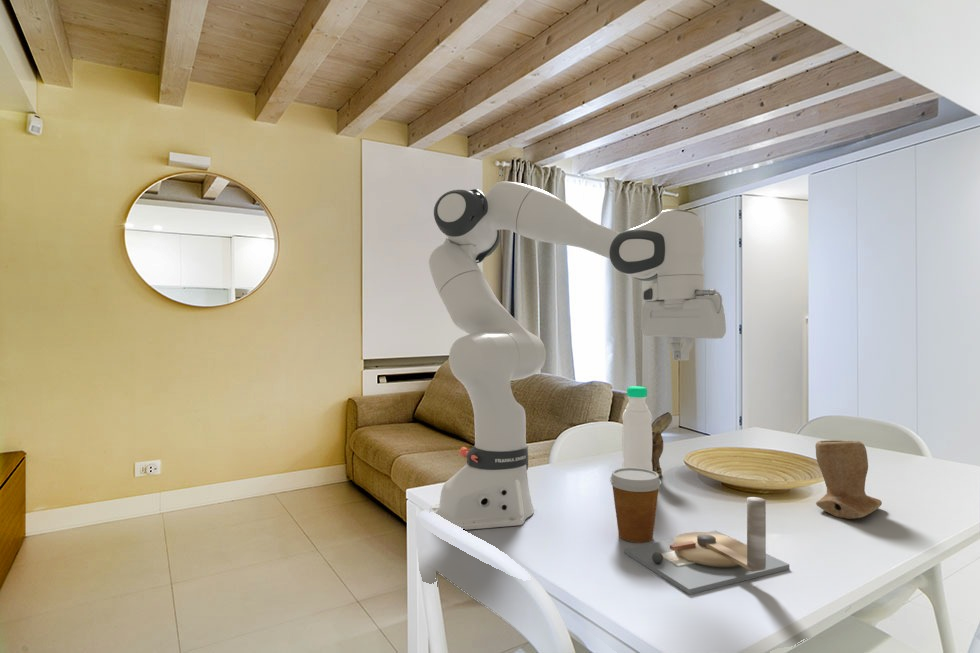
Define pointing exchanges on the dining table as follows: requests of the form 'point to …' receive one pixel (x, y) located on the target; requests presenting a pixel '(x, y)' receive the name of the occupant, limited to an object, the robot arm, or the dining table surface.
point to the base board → (695, 567)
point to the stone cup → (845, 479)
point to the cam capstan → (729, 543)
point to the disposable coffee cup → (635, 502)
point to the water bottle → (637, 430)
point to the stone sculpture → (659, 440)
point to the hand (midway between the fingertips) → (680, 360)
